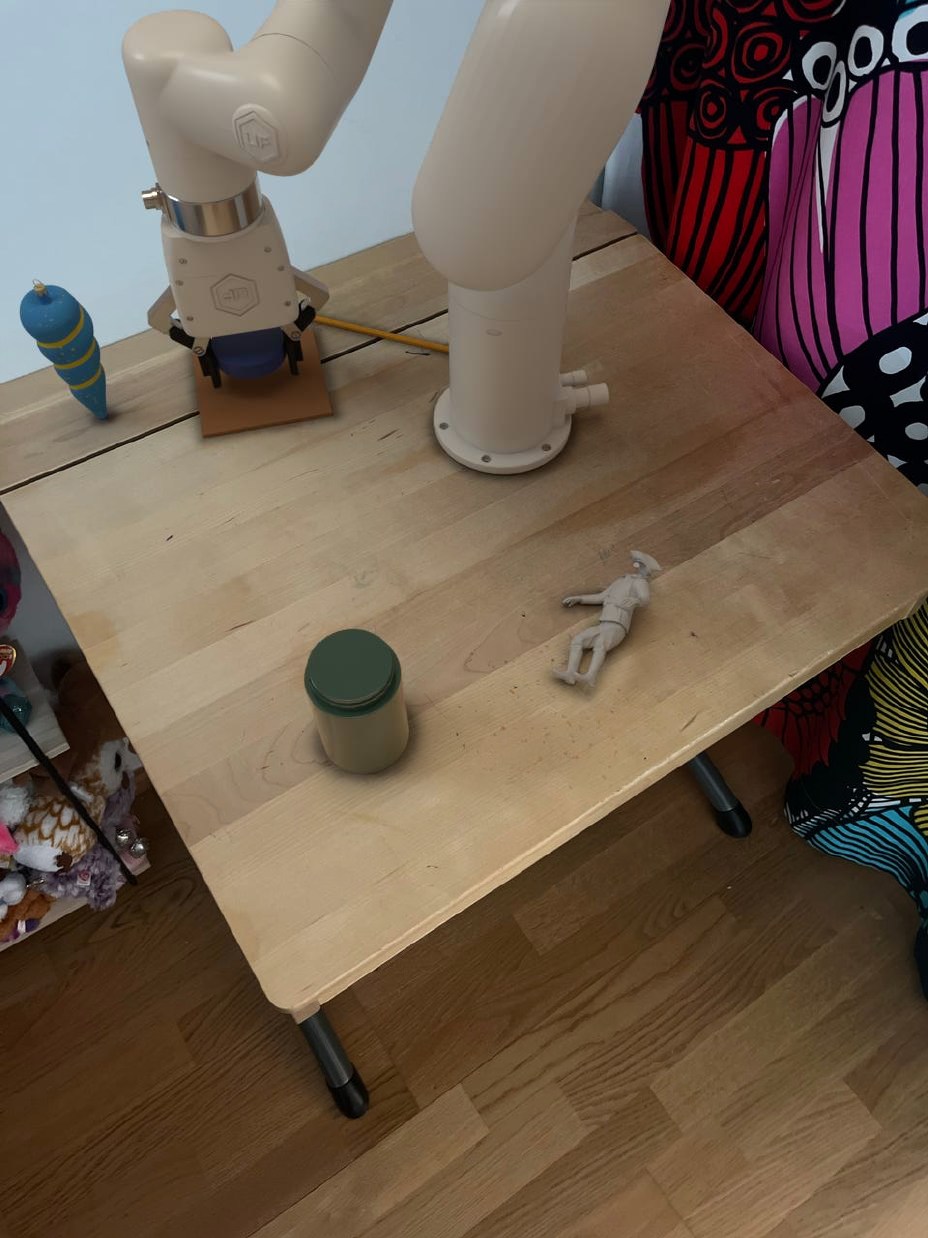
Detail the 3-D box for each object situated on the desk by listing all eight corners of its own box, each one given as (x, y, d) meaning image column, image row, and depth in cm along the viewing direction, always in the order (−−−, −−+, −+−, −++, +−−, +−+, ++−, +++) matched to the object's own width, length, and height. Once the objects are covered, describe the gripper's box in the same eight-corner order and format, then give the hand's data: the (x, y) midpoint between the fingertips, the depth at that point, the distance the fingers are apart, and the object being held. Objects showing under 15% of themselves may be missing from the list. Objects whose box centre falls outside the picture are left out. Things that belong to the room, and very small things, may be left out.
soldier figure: (525, 669, 72) (582, 535, 74) (568, 694, 74) (622, 563, 76) (589, 679, 65) (650, 531, 67) (634, 706, 67) (691, 562, 70)
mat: (313, 331, 92) (312, 328, 91) (332, 415, 85) (332, 412, 85) (192, 351, 90) (191, 348, 90) (203, 438, 84) (202, 435, 83)
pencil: (480, 357, 90) (480, 351, 89) (478, 362, 89) (478, 356, 89) (303, 316, 93) (302, 309, 92) (301, 320, 93) (299, 314, 92)
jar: (399, 687, 70) (389, 613, 61) (417, 763, 66) (409, 695, 58) (315, 706, 69) (293, 633, 60) (330, 783, 65) (308, 718, 57)
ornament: (116, 441, 84) (53, 305, 71) (63, 433, 84) (-8, 296, 72) (138, 401, 86) (81, 263, 74) (87, 394, 87) (22, 256, 74)
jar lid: (281, 323, 87) (278, 310, 85) (292, 372, 84) (289, 358, 82) (210, 335, 86) (206, 321, 85) (219, 384, 83) (215, 371, 81)
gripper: (101, 241, 68) (165, 415, 84) (330, 209, 71) (352, 384, 86) (98, 184, 72) (159, 360, 87) (315, 156, 75) (339, 331, 90)
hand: (255, 370), depth 86 cm, fingers closed on jar lid, 6 cm apart
